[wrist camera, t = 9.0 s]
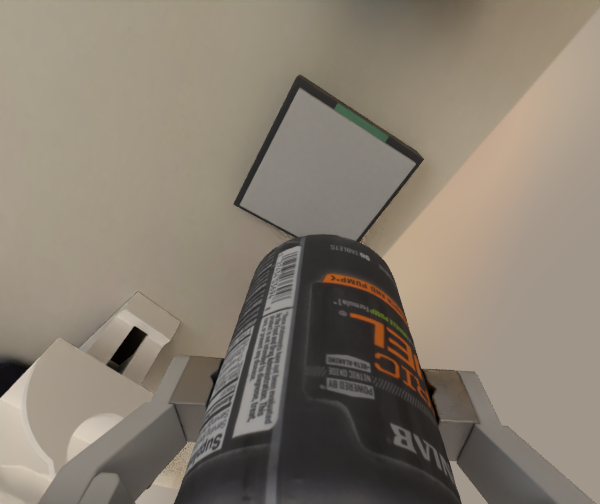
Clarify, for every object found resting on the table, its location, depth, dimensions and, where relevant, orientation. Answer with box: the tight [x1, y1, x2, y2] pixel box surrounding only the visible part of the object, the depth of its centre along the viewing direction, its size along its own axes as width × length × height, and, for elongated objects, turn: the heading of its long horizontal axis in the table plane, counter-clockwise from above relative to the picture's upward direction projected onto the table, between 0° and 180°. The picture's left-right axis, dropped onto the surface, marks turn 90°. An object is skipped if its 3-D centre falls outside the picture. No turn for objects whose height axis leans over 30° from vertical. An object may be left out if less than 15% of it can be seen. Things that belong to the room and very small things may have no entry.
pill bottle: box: [174, 234, 462, 504], centre depth 9 cm, size 6×6×11 cm
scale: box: [234, 75, 424, 242], centre depth 26 cm, size 11×11×3 cm
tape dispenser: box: [0, 292, 180, 504], centre depth 33 cm, size 14×13×18 cm
